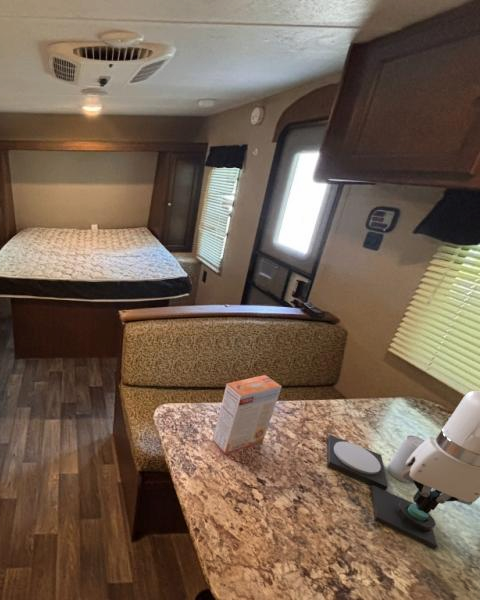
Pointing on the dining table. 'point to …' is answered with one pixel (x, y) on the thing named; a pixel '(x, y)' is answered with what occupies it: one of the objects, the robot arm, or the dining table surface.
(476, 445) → the robot arm
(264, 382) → the cracker box
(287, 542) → the dining table surface
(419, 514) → the button
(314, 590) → the dining table surface
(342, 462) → the scale
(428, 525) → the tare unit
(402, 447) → the beverage can
